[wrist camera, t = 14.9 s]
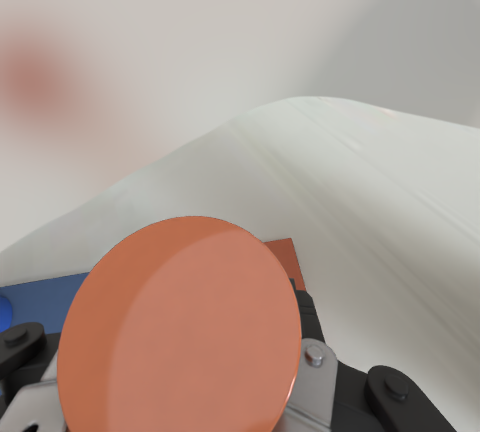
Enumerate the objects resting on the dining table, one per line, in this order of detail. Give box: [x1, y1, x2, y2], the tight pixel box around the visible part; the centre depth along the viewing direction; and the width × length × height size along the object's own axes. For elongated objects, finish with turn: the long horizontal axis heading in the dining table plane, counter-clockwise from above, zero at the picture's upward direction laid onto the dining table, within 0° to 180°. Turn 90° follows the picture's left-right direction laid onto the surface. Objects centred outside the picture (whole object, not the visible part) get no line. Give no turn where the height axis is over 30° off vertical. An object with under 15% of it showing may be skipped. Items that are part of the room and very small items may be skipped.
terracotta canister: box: [57, 216, 302, 432], centre depth 10 cm, size 5×5×11 cm
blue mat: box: [0, 272, 90, 396], centre depth 17 cm, size 13×13×1 cm
